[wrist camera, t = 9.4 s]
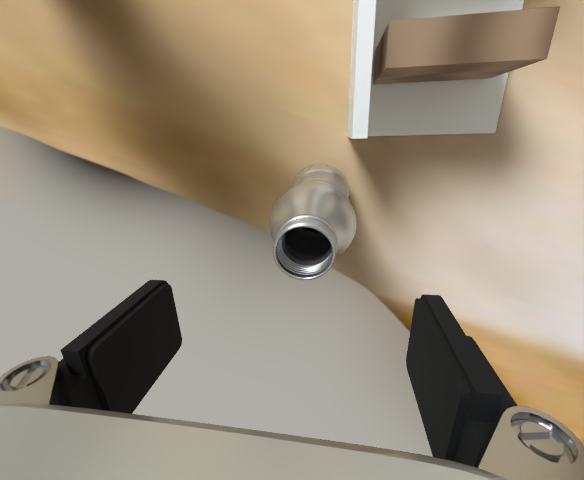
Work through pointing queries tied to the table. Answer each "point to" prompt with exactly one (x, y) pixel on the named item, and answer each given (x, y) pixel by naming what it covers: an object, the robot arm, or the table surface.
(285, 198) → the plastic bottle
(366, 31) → the shelf
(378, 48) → the bookend
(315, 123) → the table surface
